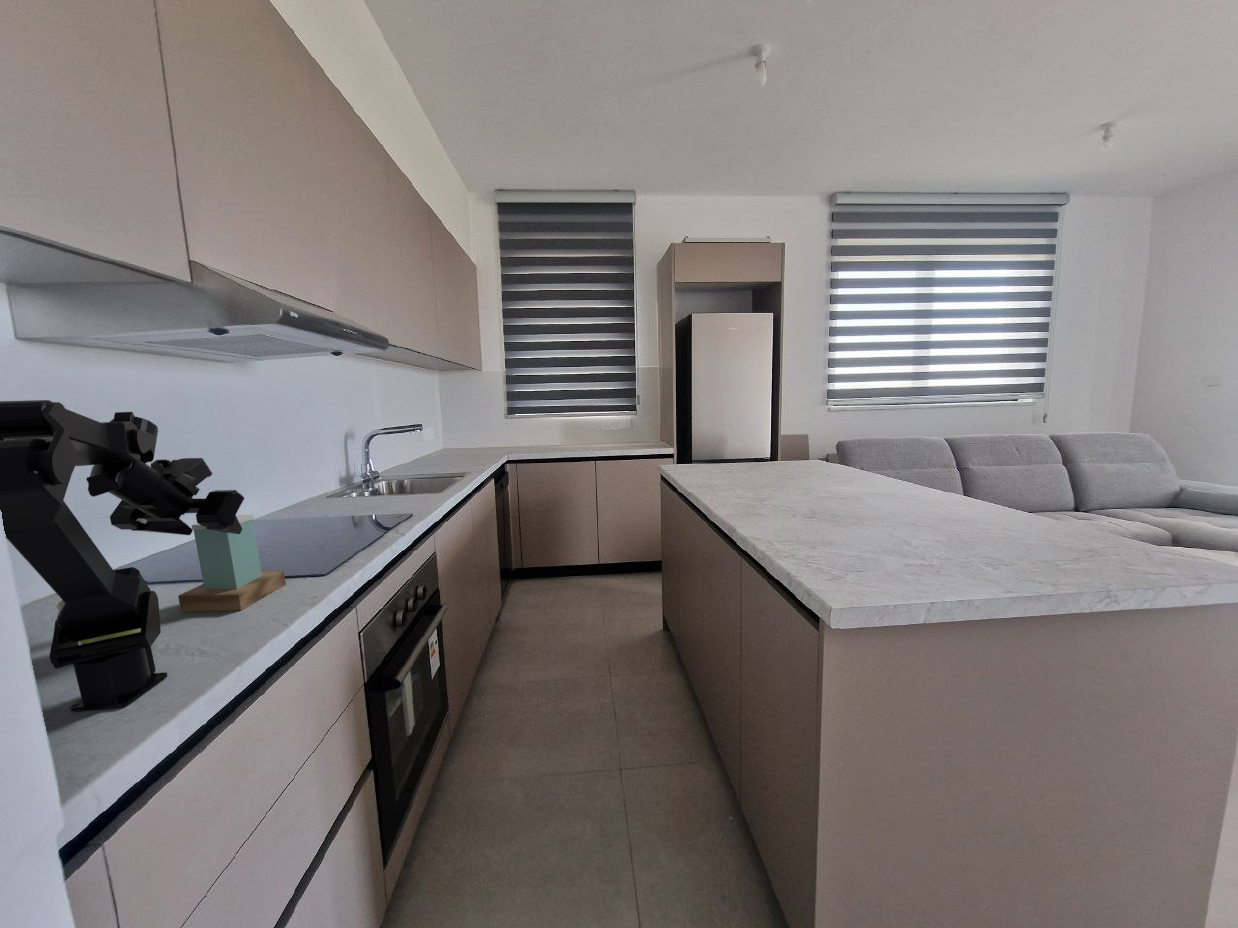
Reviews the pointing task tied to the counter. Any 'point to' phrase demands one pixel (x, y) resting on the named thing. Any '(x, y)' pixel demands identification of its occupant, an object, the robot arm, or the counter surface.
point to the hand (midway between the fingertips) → (215, 532)
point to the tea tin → (228, 555)
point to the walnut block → (232, 594)
